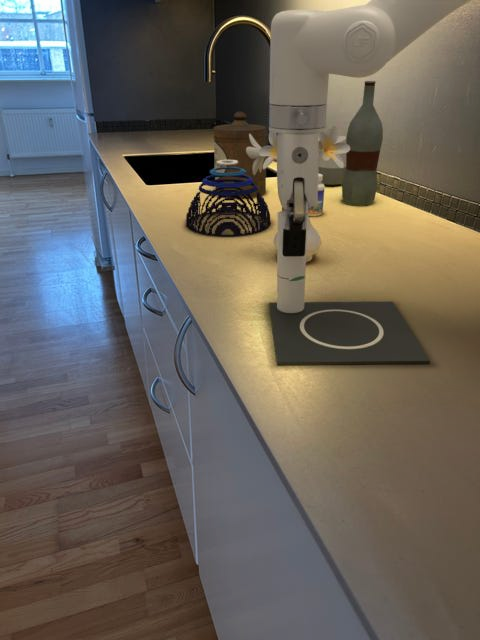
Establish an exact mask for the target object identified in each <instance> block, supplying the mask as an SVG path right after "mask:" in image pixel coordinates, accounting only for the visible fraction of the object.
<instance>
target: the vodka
mask: <svg viewBox="0 0 480 640" xmlns="http://www.w3.org/2000/svg"><path fill="white" fill-rule="evenodd" d="M376 82H377V81H376V80H365V81H364V88H363V97H362V104H361V106H360V107H359V109H358V110H357V112H356V113H355V115H354V116H353V117H352V119H351V120H350V122H349V124H348V127H347V133H346V136H345V137H346V143H347V144H348V145H349V146H350V151H349V152H347V153H346V170H345V175H344V179H343V183H342V184H341V196H342V202H343V204H345V205H348V206H352V207H353V206H354V207H367V206H370V205H372V204H373V203H374V201H375V198H376V194H377V191H378V164H379V159H380V154H381V149H382V145H383V139H384V127H383V123H382V121H381V118H380V115H379V114H378V112H377V110H376V108H375V105H374V98H375V89H376Z"/></svg>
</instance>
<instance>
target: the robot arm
mask: <svg viewBox="0 0 480 640" xmlns="http://www.w3.org/2000/svg"><path fill="white" fill-rule="evenodd" d="M472 1H473V0H370V1H368V2H367V3H366V4H362V5H355V6H354V5H353V6H349V7H344V8H339V9H333V10H325V11H324V10H319V9H287V10H282V11H279V12H277V13H276V14H275V15H274V16H273V18H272V19H271V23H270V38H269V39H270V41H269V42H270V44H269V47H270V49H269V50H270V51H269V94H268V95H269V98H268V99H269V100H268V101H269V102H268V103H269V105H268V108H269V109H268V131H269V132H270V131H272V132H275V133H276V135H277V160H276V184H277V185H276V186H277V196H278V200H279V202H280V206H281V211H284V210H285V211H286V212H285V229H283V251H282V253H283V256H285V257H290V256H304V255H305V243H306V201H307V203H308V205H309V207H311V208H312V209H315V208H316V207H317V205H318V169H319V141H318V133H320V132H324V131H325V129H326V124H327V123H326V121H327V107H328V93H329V81H330V79H329V77H330V75H336V76H342V77H347V78H348V77H349V78H356V79H358V78H366V77H367V78H368V77H370V76H373V75H375V74H376V73H378V72H379V71H380V70H382V69H383V68H384V67H385V66H386V65H387V63H389V62H390V61H391V60H392V59H393V58H394V57H396V56H397V55H399V53H401V52H402V51H404V50H405V49H406V48H407V47H408V46H409V45H411V44H413V42H415V41H416V40H417V39H419V38H420V37H422V36H423V34H425V33H426V32H427V31H429V30H431V29H432V28H433V27H434V26H435V25H437V24H438V23H439V22H441V21H443V20H444V19H445V18H446V17H448V16H449V15H450V14H451V13H453V12H455V11H456V10H458V9H459V8H462V7H463V6H464V5H466V4H468V3H470V2H472ZM290 212H293V214H291V216H290Z"/></svg>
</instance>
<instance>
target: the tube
mask: <svg viewBox="0 0 480 640" xmlns="http://www.w3.org/2000/svg"><path fill="white" fill-rule="evenodd" d="M285 212H286V211H285V210H284V211H282V210H281V211H278V213H277V232H278V237H277V250H276V251H277V252H276V253H277V254H276V255H277V257H276V258H277V259H276V261H277V263H276V281H277V282H276V302H277V309H278V310H280V311H282V312H285V313H297V312H300V311H302V310H303V309H304V302H306V300H305V299H306V297H305V295H306V270H307V266H306V265H307V262H306V243H305V255H304V256H290V257H285V256H283V253H282V251H283V229H285ZM291 214H293V212H290V216H291ZM306 242H307V212H306Z"/></svg>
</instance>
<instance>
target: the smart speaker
mask: <svg viewBox="0 0 480 640" xmlns="http://www.w3.org/2000/svg"><path fill="white" fill-rule="evenodd" d="M346 137H347V136H346V135H338V139H337V141H336V142H335V143H334V144H336V143H339V142H344V143H346ZM336 155H339V156H340V157H341V158H342V160H343V163H344V167H343V168H340V167H338V166H337V165H336V164H335V162H334V161H333V160H331V159H329V160H328V161H324V160H323V158H322V159H321V160H319V169H318V174H322V175H323V180H322V181H321V183H323V184H324V186H325V187H338V186H340V185H341V186H342V184H343V179H344V175H345V170H346V153H344V154H336Z"/></svg>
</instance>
